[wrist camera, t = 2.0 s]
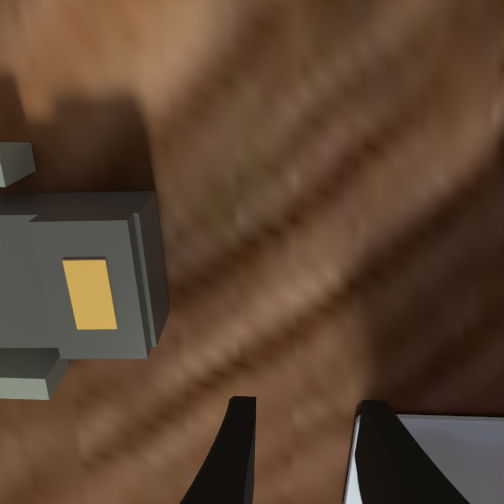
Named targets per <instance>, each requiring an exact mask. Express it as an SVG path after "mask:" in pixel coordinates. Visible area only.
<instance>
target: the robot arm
mask: <svg viewBox="0 0 504 504" xmlns="http://www.w3.org/2000/svg"><path fill="white" fill-rule="evenodd" d="M255 428H256V397H248V396H233V397H232V398H231V399H230V400H229V405H228V408H227V411H226V415H225V417H224V420H223V423H222V425H221V428H220V430H219V432H218V435H217V437H216V439H215V441H214V443H213V445H212V447H211V449H210V451H209V454H208V456H207V458H206V459H205V461H204V463H203V465H202V467H201V469H200V470H199V472H198V474H197V476H196V477H195V479H194V481H193V483H192V485H191V486H190V488H189V490H188V491H187V493H186V494H185V496H184V498H183V499H182V501H181V502H180V504H252V500H253V491H254V461H255ZM344 504H504V418H498V417H467V416H436V415H405V414H395V412H394V411H393V409H392V408H391V407H390V405H389V404H388V403H387V402H386V401H374V400H363V402H362V409H361V415H359V416H358V417H357V419H356V422H355V429H354V436H353V443H352V449H351V456H350V463H349V470H348V477H347V483H346V490H345V497H344Z"/></svg>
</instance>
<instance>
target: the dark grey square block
mask: <svg viewBox="0 0 504 504" xmlns="http://www.w3.org/2000/svg"><path fill="white" fill-rule="evenodd" d="M169 312H170V307H169V298H168V290H167V281H166V273H165V264H164V256H163V247H162V238H161V230H160V221H159V213H158V204H157V196H156V191H122V192H73V193H25V194H0V348H58V349H59V354H60V358H61V359H148V356H149V353H150V351H151V348H152V347H157V344H158V342H159V339H160V336H161V334H162V331H163V328H164V325H165V323H166V320H167V317H168V314H169Z"/></svg>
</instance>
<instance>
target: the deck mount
mask: <svg viewBox="0 0 504 504" xmlns="http://www.w3.org/2000/svg"><path fill="white" fill-rule="evenodd" d="M35 171H36V168H35V162H34V157H33V151H32V145H31V142H0V187H6V186H8V185H10V184H12V183H14V182H16V181H18V180H20V179H22V178H24V177H26V176H27V175H29V174H31V173H33V172H35ZM69 367H70V363H69V359H61V358H60V354H59V349H58V348H0V398H10V399H41V400H49V399H50V398H51V396H52V394H53V393H54V391H55V389H56V388H57V386H58V385H59V383H60V381H61V380H62V378H63V376H64V375H65V373H66V372H67V370H68V368H69Z"/></svg>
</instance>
